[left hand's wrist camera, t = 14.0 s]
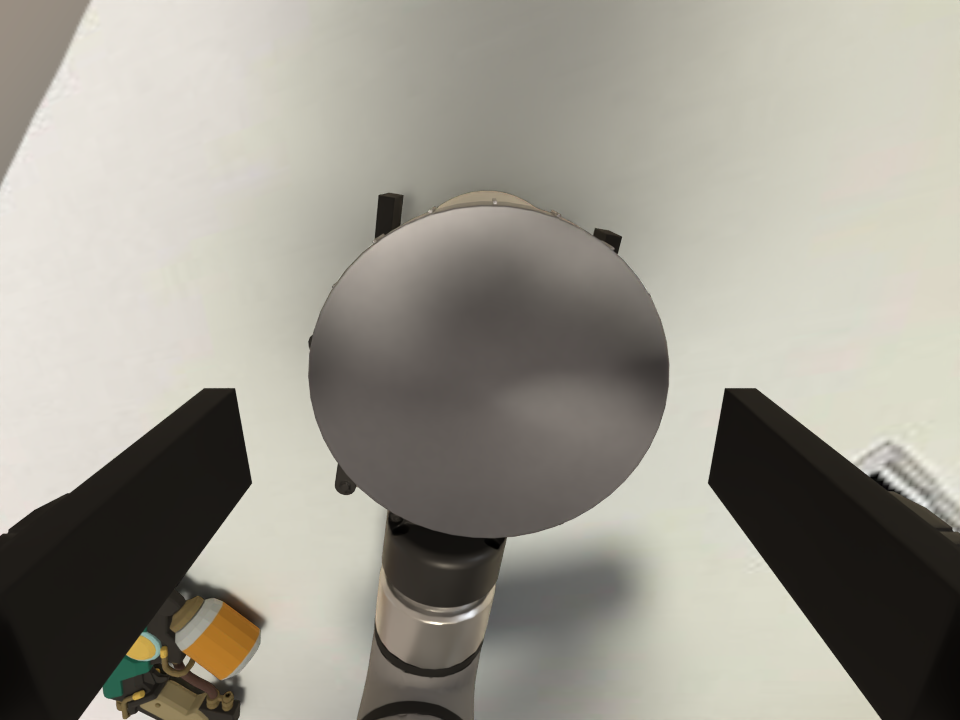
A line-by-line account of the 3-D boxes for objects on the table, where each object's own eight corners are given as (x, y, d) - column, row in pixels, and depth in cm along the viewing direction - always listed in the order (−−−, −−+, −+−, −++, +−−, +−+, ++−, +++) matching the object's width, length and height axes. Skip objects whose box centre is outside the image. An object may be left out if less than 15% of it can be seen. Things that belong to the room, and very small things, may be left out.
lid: (269, 260, 16) (241, 272, 14) (613, 148, 15) (631, 144, 13) (392, 533, 19) (383, 571, 18) (677, 461, 18) (698, 493, 16)
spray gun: (236, 720, 48) (81, 659, 46) (295, 610, 42) (119, 534, 40) (211, 770, 44) (40, 706, 42) (272, 658, 38) (75, 576, 36)
